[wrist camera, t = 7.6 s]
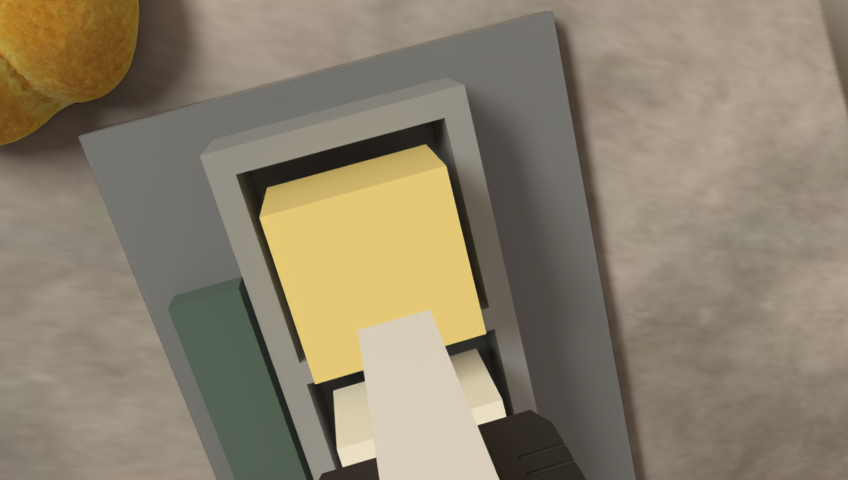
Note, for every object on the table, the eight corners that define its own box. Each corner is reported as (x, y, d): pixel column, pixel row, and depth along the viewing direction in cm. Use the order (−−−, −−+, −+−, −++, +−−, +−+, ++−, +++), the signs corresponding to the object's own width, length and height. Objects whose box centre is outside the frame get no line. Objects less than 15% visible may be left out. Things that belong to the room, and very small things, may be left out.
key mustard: (314, 332, 23) (315, 384, 20) (267, 187, 22) (259, 217, 18) (461, 290, 24) (486, 333, 20) (425, 144, 22) (445, 165, 19)
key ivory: (372, 510, 26) (381, 583, 22) (333, 390, 24) (336, 449, 21) (506, 469, 26) (534, 534, 23) (476, 348, 24) (502, 399, 21)
